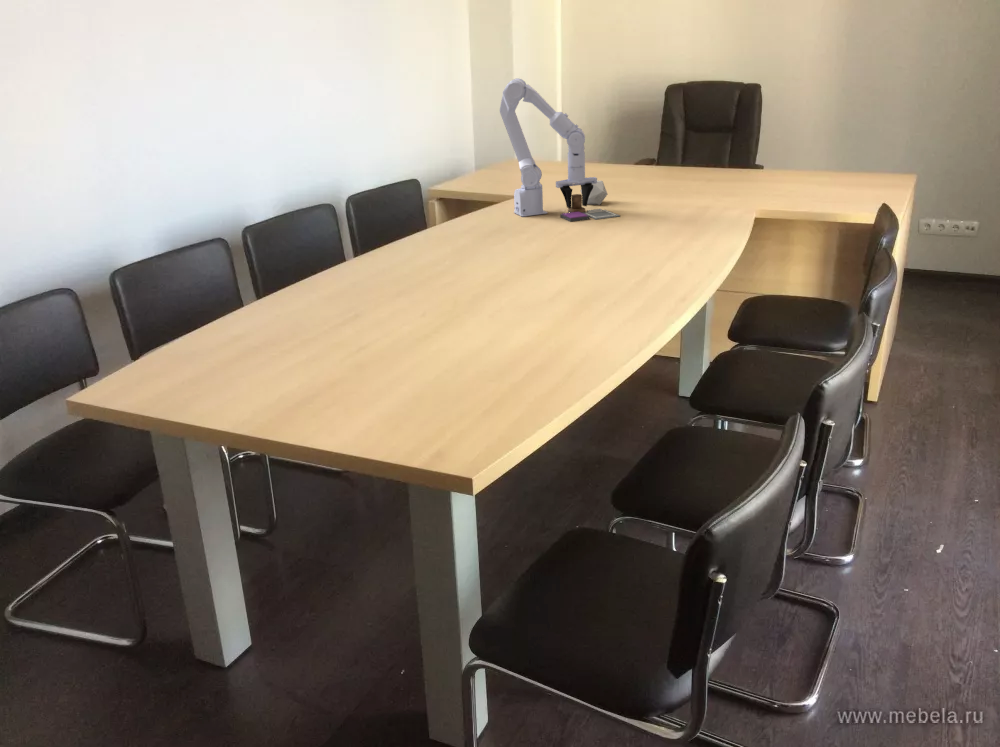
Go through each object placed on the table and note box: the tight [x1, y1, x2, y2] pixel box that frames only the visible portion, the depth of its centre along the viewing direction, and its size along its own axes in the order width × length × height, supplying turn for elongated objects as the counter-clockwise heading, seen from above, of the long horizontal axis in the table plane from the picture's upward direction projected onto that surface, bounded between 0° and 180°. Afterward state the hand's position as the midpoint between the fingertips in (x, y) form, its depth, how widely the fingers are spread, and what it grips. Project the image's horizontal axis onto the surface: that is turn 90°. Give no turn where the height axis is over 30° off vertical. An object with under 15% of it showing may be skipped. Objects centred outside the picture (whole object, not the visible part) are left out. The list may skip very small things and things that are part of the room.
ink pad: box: [559, 211, 591, 223], centre depth 279 cm, size 7×8×1 cm
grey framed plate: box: [583, 208, 621, 220], centre depth 282 cm, size 9×11×1 cm
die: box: [580, 180, 608, 206], centre depth 299 cm, size 8×9×10 cm
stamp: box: [567, 193, 586, 213], centre depth 287 cm, size 4×4×6 cm
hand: (576, 206), depth 287 cm, fingers open, 5 cm apart
